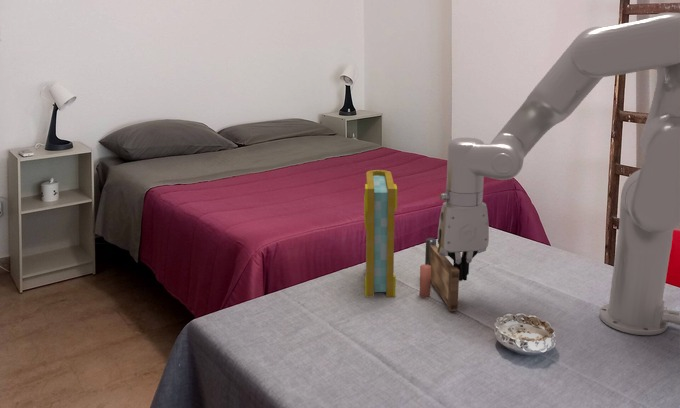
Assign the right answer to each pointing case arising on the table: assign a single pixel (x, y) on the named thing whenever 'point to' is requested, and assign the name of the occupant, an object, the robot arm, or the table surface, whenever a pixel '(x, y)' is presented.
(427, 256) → the gate post
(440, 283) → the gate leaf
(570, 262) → the table surface
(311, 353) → the table surface
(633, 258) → the robot arm
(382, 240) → the book
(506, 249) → the table surface
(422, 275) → the post
